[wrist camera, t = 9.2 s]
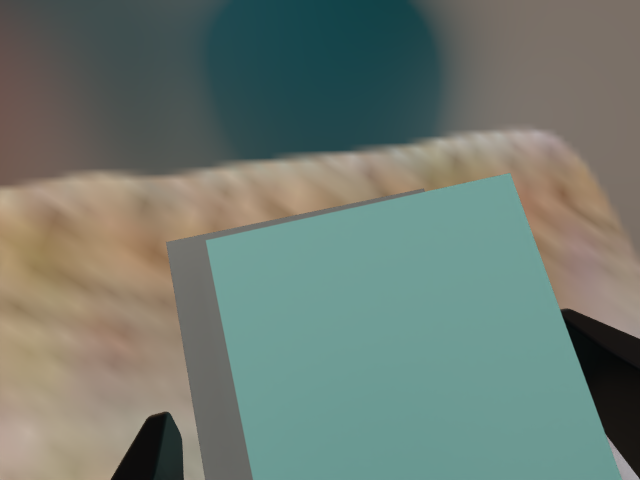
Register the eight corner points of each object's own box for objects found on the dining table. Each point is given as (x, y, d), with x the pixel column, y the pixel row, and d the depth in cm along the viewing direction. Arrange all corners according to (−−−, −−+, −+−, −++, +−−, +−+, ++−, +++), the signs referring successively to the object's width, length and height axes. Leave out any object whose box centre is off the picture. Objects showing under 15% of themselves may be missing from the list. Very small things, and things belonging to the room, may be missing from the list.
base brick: (474, 439, 20) (525, 467, 16) (227, 511, 19) (208, 565, 14) (406, 207, 23) (434, 176, 18) (182, 255, 21) (155, 234, 17)
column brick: (401, 390, 17) (628, 499, 6) (286, 423, 17) (280, 618, 5) (370, 275, 18) (510, 173, 7) (259, 302, 18) (205, 240, 6)
